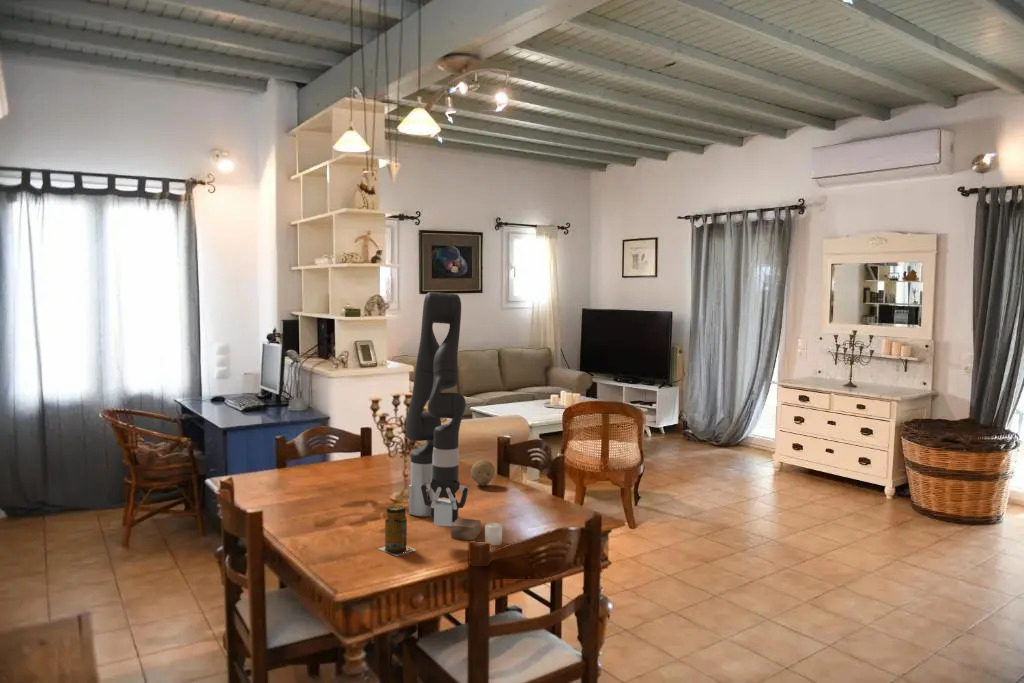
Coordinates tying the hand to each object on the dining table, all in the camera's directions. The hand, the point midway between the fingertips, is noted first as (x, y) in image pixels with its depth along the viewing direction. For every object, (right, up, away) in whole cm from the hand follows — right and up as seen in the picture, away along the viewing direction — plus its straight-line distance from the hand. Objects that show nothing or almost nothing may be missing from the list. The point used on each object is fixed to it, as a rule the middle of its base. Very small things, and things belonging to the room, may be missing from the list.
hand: (444, 520), depth 211 cm
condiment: (-13, -8, -3) cm, 16 cm away
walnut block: (+5, -7, +10) cm, 13 cm away
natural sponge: (+8, -3, +63) cm, 63 cm away
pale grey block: (0, -1, 0) cm, 1 cm away
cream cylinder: (+14, -7, +4) cm, 16 cm away
